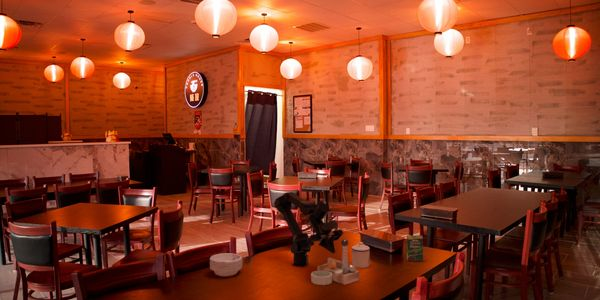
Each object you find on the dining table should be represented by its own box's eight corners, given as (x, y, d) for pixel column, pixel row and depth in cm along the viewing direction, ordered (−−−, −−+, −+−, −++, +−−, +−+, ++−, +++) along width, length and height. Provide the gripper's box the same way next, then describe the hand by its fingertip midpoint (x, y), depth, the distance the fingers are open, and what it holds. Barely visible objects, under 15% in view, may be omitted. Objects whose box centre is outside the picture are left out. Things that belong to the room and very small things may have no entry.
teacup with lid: (372, 267, 216) (372, 244, 216) (355, 269, 214) (355, 245, 214) (363, 260, 228) (363, 238, 227) (347, 261, 226) (347, 239, 225)
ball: (327, 269, 202) (327, 261, 202) (329, 266, 205) (329, 259, 205) (334, 269, 201) (334, 262, 200) (337, 267, 204) (337, 260, 204)
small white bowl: (308, 283, 194) (308, 275, 194) (315, 277, 203) (315, 269, 203) (328, 286, 191) (328, 278, 191) (334, 279, 200) (334, 271, 199)
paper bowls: (248, 271, 212) (248, 254, 212) (229, 280, 199) (229, 263, 198) (223, 266, 219) (223, 251, 219) (203, 275, 206) (202, 259, 206)
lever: (319, 265, 206) (319, 233, 205) (331, 262, 211) (331, 231, 210) (345, 274, 193) (345, 240, 192) (356, 271, 198) (356, 237, 197)
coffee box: (407, 261, 226) (407, 236, 225) (406, 259, 229) (406, 234, 228) (423, 261, 225) (423, 236, 224) (422, 260, 228) (422, 235, 227)
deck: (317, 274, 207) (317, 265, 206) (332, 270, 212) (331, 262, 212) (344, 284, 193) (344, 275, 192) (359, 280, 198) (359, 271, 198)
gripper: (310, 217, 198) (327, 246, 190) (340, 212, 210) (357, 239, 201) (299, 231, 204) (315, 260, 196) (329, 226, 216) (345, 253, 208)
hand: (334, 252), depth 200 cm, fingers closed
